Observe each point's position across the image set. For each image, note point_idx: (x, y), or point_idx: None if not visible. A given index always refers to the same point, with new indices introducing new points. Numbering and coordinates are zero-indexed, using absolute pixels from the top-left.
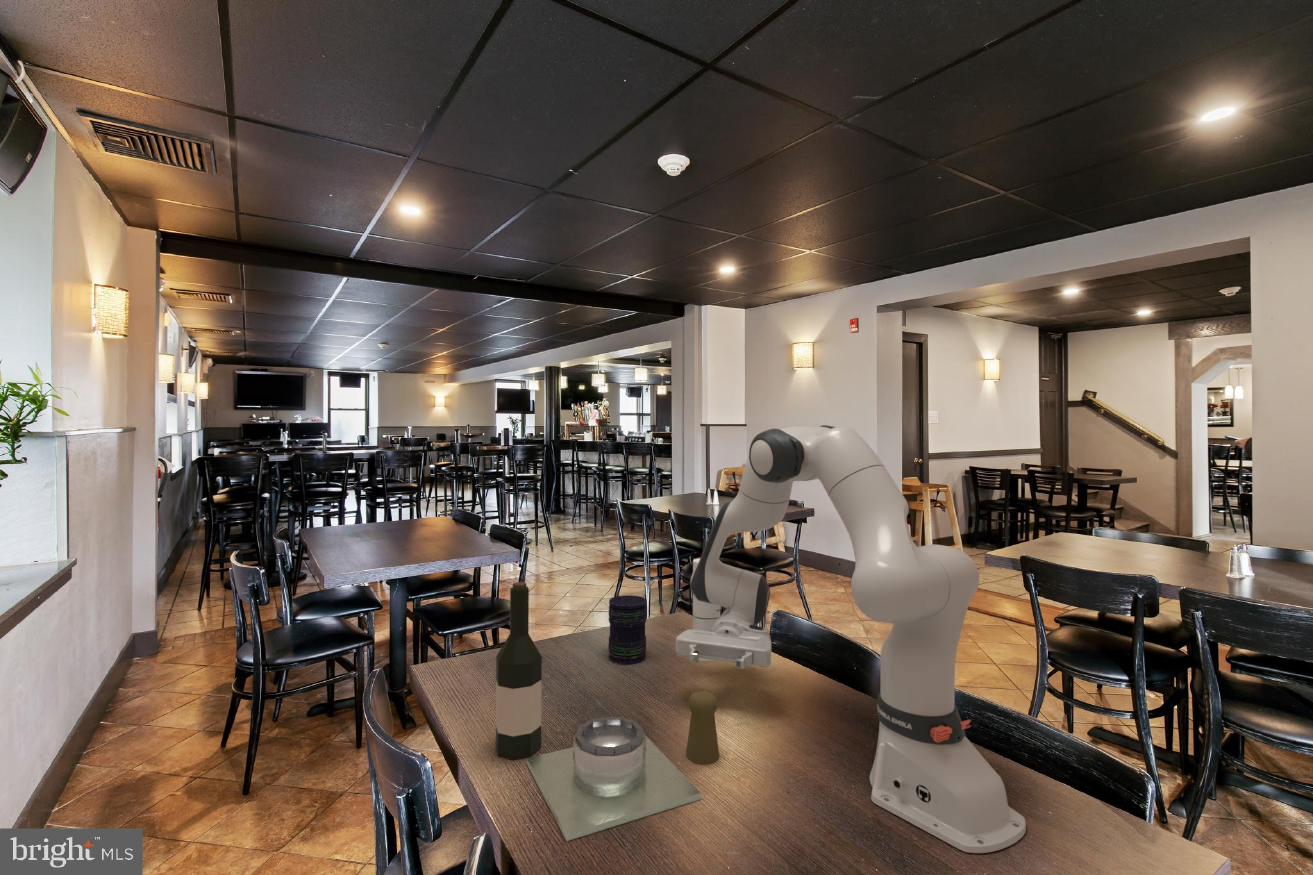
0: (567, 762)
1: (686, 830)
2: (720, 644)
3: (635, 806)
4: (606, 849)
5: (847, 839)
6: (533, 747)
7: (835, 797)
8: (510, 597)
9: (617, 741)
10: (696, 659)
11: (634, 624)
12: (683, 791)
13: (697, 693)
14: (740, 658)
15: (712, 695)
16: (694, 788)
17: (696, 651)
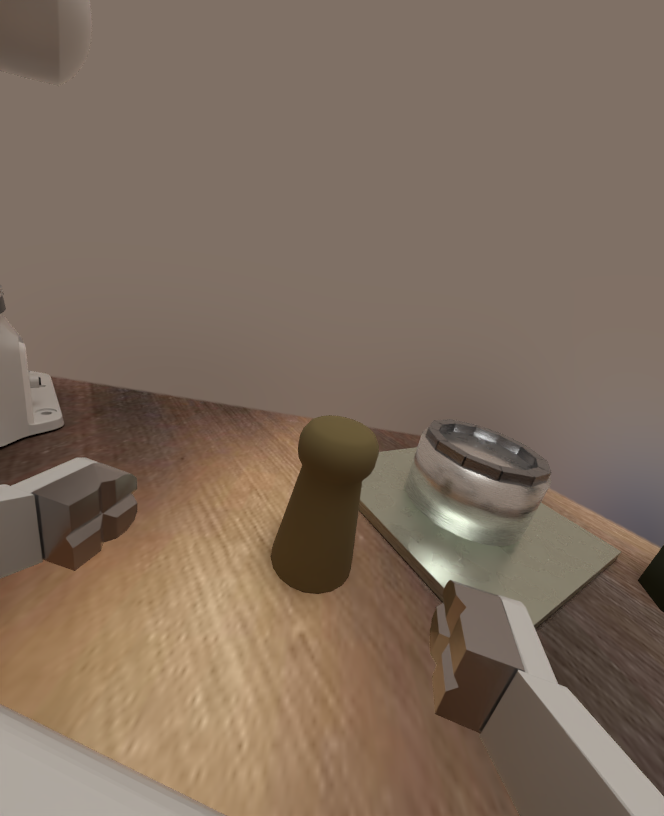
0: (547, 535)
1: None
2: (112, 773)
3: (397, 456)
4: (404, 440)
5: (165, 408)
6: (650, 575)
7: (112, 441)
8: None
9: (465, 445)
10: (439, 608)
11: None
12: None
13: (359, 427)
14: (83, 473)
15: (317, 422)
16: None
17: (486, 639)
